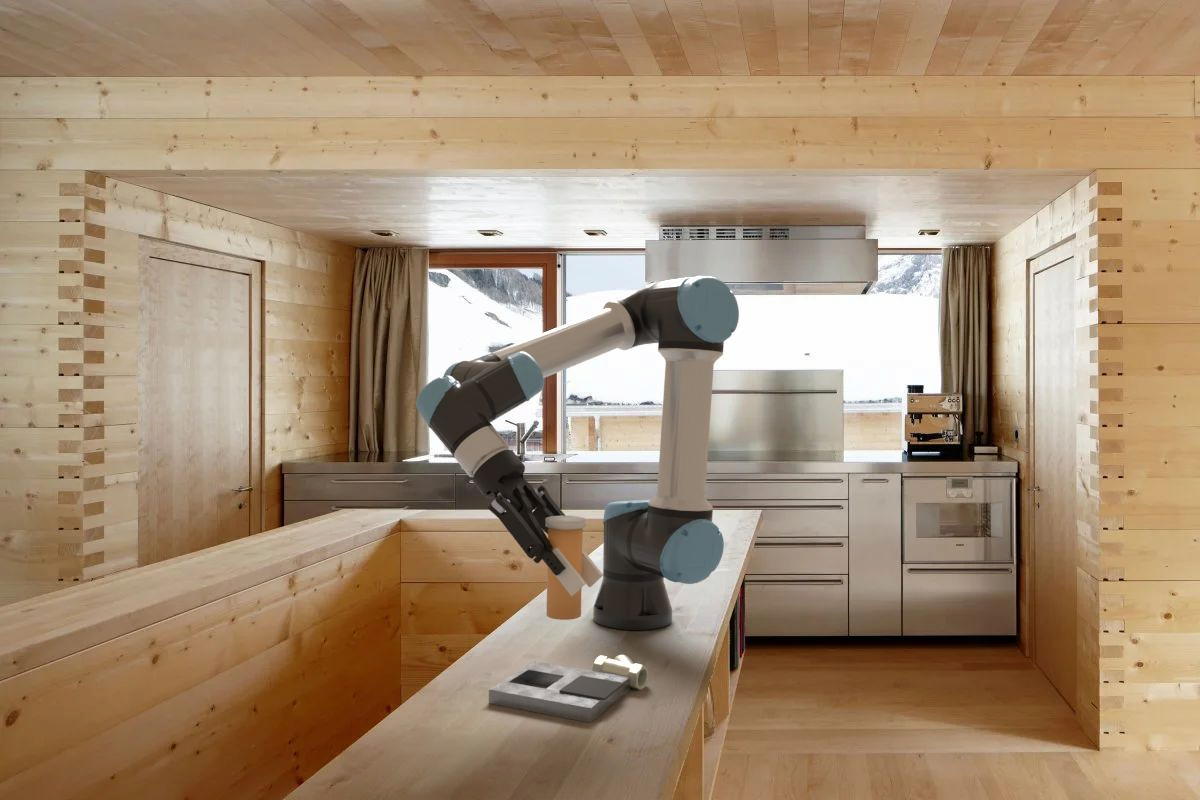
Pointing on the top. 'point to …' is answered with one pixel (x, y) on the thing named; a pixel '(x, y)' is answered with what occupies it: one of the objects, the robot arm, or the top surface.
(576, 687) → the pad
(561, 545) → the orange pill bottle
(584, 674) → the plate
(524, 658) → the top surface
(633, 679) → the pipe fitting
